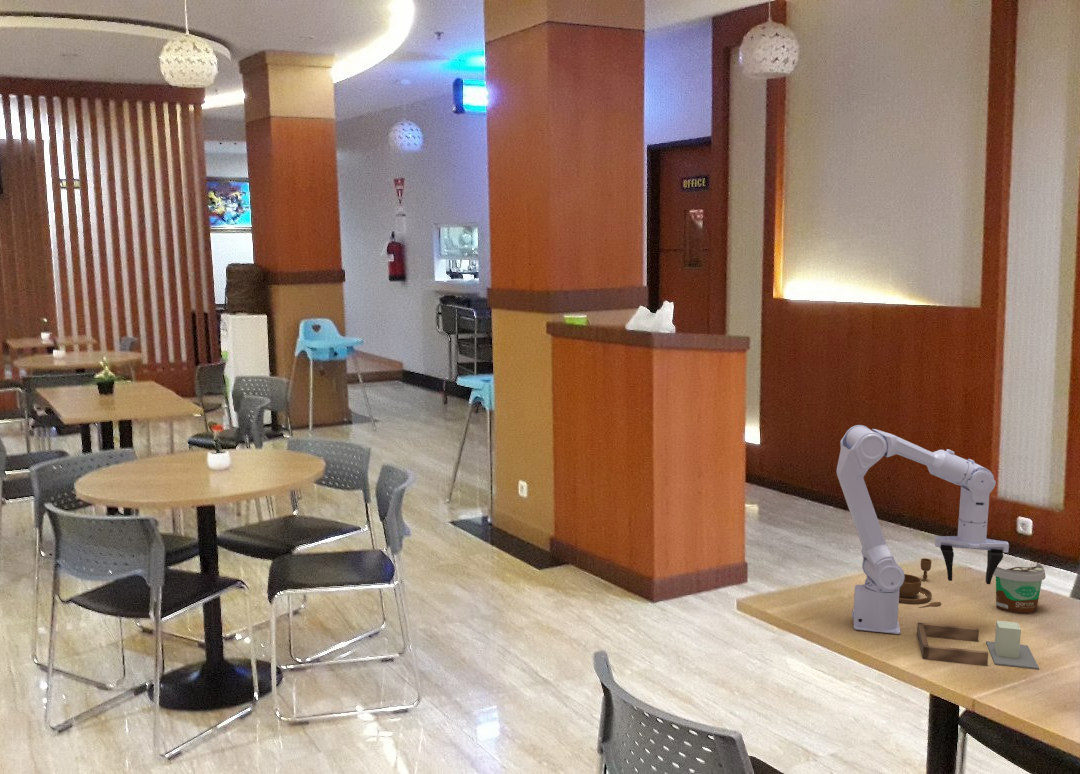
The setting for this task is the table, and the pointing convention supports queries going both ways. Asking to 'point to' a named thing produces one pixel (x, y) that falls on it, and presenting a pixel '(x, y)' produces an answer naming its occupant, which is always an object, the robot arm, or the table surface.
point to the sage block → (1007, 639)
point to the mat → (1023, 661)
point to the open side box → (950, 653)
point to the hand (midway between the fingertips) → (968, 581)
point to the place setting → (916, 587)
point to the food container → (1018, 588)
